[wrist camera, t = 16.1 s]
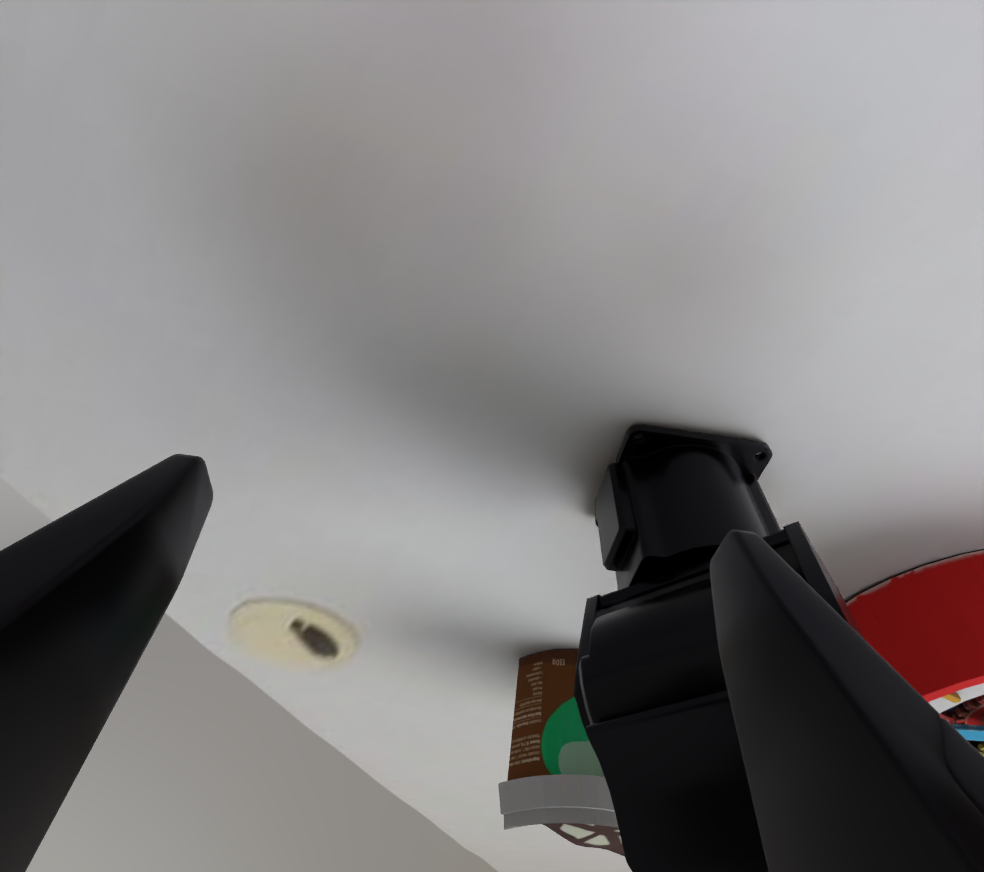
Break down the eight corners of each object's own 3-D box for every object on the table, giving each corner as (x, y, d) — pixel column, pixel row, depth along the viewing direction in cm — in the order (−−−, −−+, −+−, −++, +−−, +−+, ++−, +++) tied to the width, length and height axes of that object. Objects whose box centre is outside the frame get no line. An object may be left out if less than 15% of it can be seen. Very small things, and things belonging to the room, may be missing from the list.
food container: (689, 689, 38) (729, 864, 31) (619, 715, 41) (641, 880, 34) (572, 615, 34) (585, 801, 26) (503, 650, 37) (496, 826, 29)
